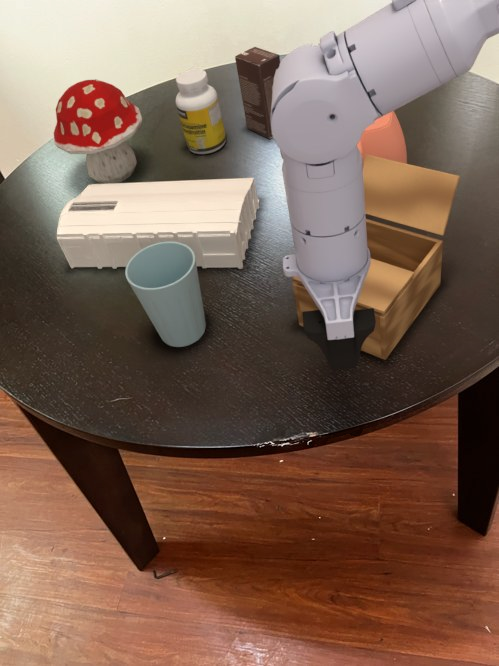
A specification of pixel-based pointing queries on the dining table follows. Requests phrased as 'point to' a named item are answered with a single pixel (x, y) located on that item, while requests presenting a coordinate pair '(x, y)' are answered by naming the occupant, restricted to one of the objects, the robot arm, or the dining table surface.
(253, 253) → the dining table surface
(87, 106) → the decorative mushroom
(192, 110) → the pill bottle
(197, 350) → the dining table surface
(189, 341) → the cup
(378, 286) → the wooden box
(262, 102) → the box
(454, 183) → the flap
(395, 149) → the teapot
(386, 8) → the robot arm
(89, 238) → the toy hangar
